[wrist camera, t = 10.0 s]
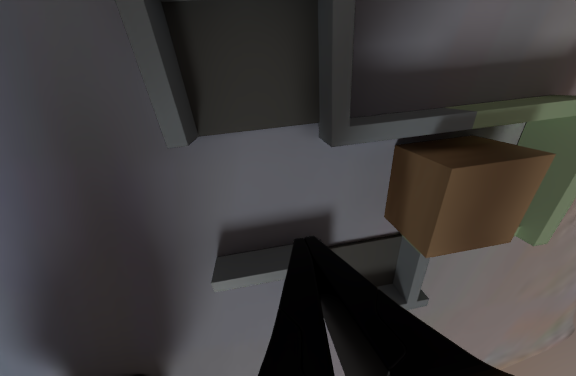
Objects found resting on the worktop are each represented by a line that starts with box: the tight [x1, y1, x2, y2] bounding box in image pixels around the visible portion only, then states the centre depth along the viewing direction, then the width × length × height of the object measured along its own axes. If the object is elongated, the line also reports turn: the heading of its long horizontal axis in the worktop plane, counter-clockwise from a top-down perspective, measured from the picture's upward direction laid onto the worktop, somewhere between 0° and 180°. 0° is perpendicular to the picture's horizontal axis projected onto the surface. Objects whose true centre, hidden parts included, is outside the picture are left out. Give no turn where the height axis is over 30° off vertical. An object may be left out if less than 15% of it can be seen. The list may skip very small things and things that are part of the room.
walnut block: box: [384, 135, 556, 258], centre depth 12 cm, size 5×5×4 cm
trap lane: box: [115, 0, 576, 321], centre depth 12 cm, size 21×20×3 cm
